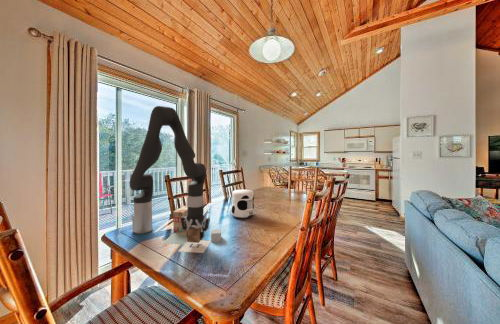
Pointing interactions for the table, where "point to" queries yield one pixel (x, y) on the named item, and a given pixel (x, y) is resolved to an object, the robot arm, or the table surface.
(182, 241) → the grey-green mat
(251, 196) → the milk container
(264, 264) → the table surface
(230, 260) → the table surface
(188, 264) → the table surface
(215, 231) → the grey block
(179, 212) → the stack of blocks
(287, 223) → the table surface
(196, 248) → the tile
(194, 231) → the walnut block
